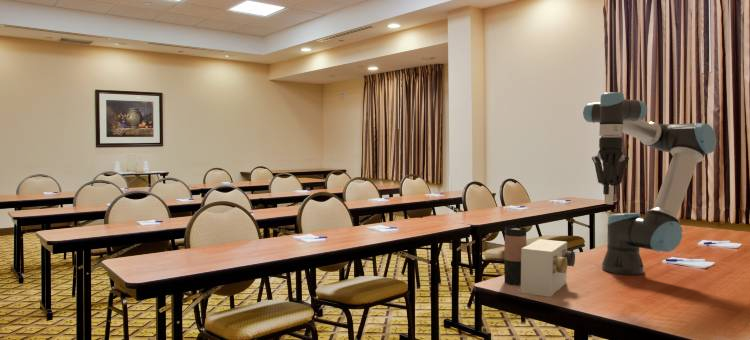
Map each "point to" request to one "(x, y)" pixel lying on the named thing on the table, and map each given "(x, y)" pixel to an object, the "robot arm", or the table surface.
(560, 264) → the brass plunger
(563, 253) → the tan cylindrical part
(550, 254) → the housing
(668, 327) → the table surface
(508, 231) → the travel mug
